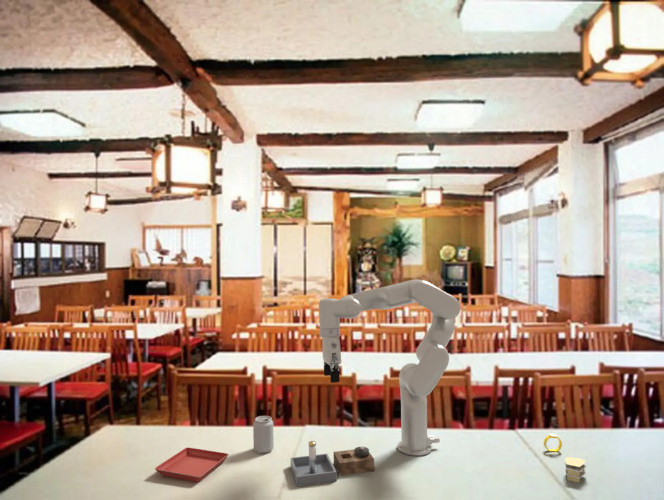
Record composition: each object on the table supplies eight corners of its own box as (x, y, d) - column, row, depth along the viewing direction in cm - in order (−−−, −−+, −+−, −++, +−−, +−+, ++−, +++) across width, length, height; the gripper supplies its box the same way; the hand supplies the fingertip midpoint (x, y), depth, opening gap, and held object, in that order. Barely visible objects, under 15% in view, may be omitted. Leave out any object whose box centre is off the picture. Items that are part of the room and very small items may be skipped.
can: (269, 455, 168) (269, 422, 168) (250, 453, 169) (250, 421, 169) (276, 446, 175) (275, 415, 175) (257, 445, 176) (257, 414, 177)
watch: (546, 452, 166) (545, 436, 166) (542, 449, 169) (542, 433, 169) (562, 452, 166) (562, 436, 166) (559, 449, 169) (559, 433, 169)
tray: (327, 462, 161) (327, 453, 161) (336, 481, 148) (336, 471, 148) (290, 466, 158) (290, 457, 158) (296, 486, 145) (296, 476, 145)
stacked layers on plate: (590, 489, 141) (589, 471, 141) (558, 481, 146) (557, 464, 146) (592, 475, 149) (591, 458, 149) (561, 469, 154) (561, 452, 154)
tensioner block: (366, 459, 163) (366, 441, 163) (374, 470, 154) (374, 452, 154) (333, 463, 160) (333, 445, 160) (340, 475, 152) (339, 456, 152)
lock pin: (315, 470, 154) (315, 440, 155) (317, 473, 152) (316, 443, 152) (308, 471, 154) (308, 441, 154) (310, 474, 151) (309, 444, 152)
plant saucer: (229, 462, 163) (229, 452, 163) (200, 486, 146) (200, 476, 146) (186, 455, 169) (186, 446, 169) (153, 478, 152) (153, 468, 152)
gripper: (346, 335, 161) (348, 383, 161) (333, 327, 177) (335, 372, 177) (325, 337, 159) (327, 386, 159) (314, 329, 175) (316, 373, 175)
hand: (331, 378), depth 168 cm, fingers open, 9 cm apart
